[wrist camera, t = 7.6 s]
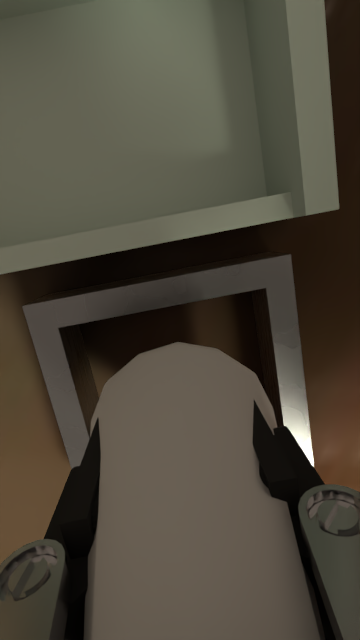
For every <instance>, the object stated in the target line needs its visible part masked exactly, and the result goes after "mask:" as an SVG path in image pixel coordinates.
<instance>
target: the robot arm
mask: <svg viewBox="0 0 360 640" xmlns="http://www.w3.org/2000/svg"><path fill="white" fill-rule="evenodd" d="M273 431H274V434H273V433H272V431H271V429H270V427H269V425H268V424H267V422H266V420H265V418H264V416H263V415H262V413H261V411H260V409H259V407H258V406H257V404H256V402H255V400H254V408H253V446H254V449H255V452H256V455H257V458H258V460H259V475H260V478H261V480H262V482H263V483H264V485H265V486H266V487H267V488H268V489H269V492H270V494H271V497H273V498H276V499H279V500H282V501H285V502H287V505H288V509H289V513H290V517H291V521H292V525H293V529H294V533H295V537H296V541H297V546H298V550H299V554H300V558H301V562H302V564H303V567H304V569H305V571H306V573H307V575H308V577H309V579H310V582H311V584H312V586H313V588H314V592H315V596H316V600H317V605H318V609H319V614H320V618H321V623H322V627H323V631H324V636H325V640H360V492H358V491H356V490H353V489H351V488H349V487H345V486H340V485H325V484H324V482H323V481H322V479H321V478H320V476H319V475H318V473H317V472H316V470H315V468H314V467H313V465H312V464H311V462H310V461H309V459H308V458H307V456H306V455H305V453H304V452H303V450H302V448H301V447H300V445H299V444H298V442H297V441H296V439H295V438H294V436H293V435H292V433H291V432H290V430H289V429H288V427H287V426H282V427H277V428H274V429H273ZM100 463H101V449H100V433H99V418H97V420H96V423H95V426H94V429H93V431H92V434H91V437H90V439H89V442H88V445H87V448H86V450H85V453H84V456H83V459H82V461H81V464H80V466H76V467H74V468H72V470H71V472H70V474H69V477H68V479H67V482H66V484H65V487H64V489H63V492H62V494H61V497H60V499H59V502H58V504H57V507H56V509H55V512H54V514H53V517H52V519H51V522H50V524H49V527H48V529H47V532H46V534H45V537H44V539H43V540H37V541H34V542H31V543H29V544H26V545H24V546H23V547H21V548H19V549H18V550H16V551H15V552H13V553H12V554H11V555H10V556H9V557H8V558H6V559H5V560H4V561H3V562H2V564H1V565H0V640H84V613H85V596H86V592H87V589H88V555H89V552H90V550H91V547H92V545H93V542H94V534H95V532H96V529H97V520H98V507H99V479H100Z"/></svg>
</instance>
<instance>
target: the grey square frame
mask: <svg viewBox="0 0 360 640" xmlns="http://www.w3.org/2000/svg"><path fill="white" fill-rule="evenodd" d="M247 291H251V294H252V302H253V309H254V316H255V323H256V330H257V337H258V345H259V352H260V359H261V366H262V373H263V380H264V387H265V393H266V395H267V397H268V399H269V401H270V403H271V405H272V407H273V410H274V415H275V419H276V424H277V427H282V426H287V427H288V429H289V430H290V432H291V433H292V435H293V436H294V438H295V439H296V441H297V442H298V444H299V445H300V447H301V448H302V450H303V452H304V453H305V455H306V456H307V458H308V459H309V461H310V462H311V464H312V465H313V467H314V462H313V453H312V443H311V434H310V425H309V416H308V407H307V398H306V388H305V379H304V370H303V361H302V352H301V342H300V333H299V324H298V315H297V306H296V296H295V287H294V278H293V269H292V260H291V254H286V253H278V252H271V251H269V252H264V253H259V254H254V255H248V256H243V257H238V258H233V259H228V260H223V261H217V262H212V263H207V264H202V265H197V266H192V267H186V268H181V269H176V270H171V271H166V272H161V273H155V274H150V275H145V276H140V277H135V278H129V279H124V280H119V281H114V282H109V283H104V284H98V285H93V286H88V287H83V288H78V289H73V290H67V291H62V292H57V293H52V294H47V295H44V296H42V297H40V298H38V299H36V300H34V301H32V302H30V303H28V304H25V305H23V306H22V308H23V311H24V314H25V317H26V321H27V324H28V327H29V331H30V334H31V337H32V340H33V344H34V347H35V350H36V354H37V357H38V360H39V363H40V367H41V370H42V373H43V377H44V380H45V383H46V386H47V390H48V393H49V396H50V399H51V403H52V406H53V409H54V413H55V416H56V419H57V422H58V426H59V429H60V432H61V436H62V439H63V442H64V445H65V449H66V452H67V455H68V459H69V462H70V465H71V468H74V467H76V466H80V464H81V461H82V459H83V456H84V453H85V450H86V448H87V445H88V442H89V439H90V430H91V420H92V417H93V414H94V411H95V409H96V406H97V403H98V401H99V397H98V394H97V390H96V386H95V382H94V379H93V375H92V371H91V367H90V364H89V360H88V356H87V352H86V349H85V345H84V341H83V337H82V334H81V330H80V326H79V324H81V323H86V322H92V321H97V320H102V319H107V318H112V317H117V316H123V315H128V314H133V313H138V312H143V311H149V310H154V309H159V308H164V307H169V306H174V305H180V304H185V303H190V302H195V301H200V300H206V299H211V298H216V297H221V296H226V295H232V294H237V293H242V292H247Z"/></svg>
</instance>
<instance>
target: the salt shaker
mask: <svg viewBox="0 0 360 640" xmlns="http://www.w3.org/2000/svg"><path fill="white" fill-rule="evenodd" d="M254 400H255V402H256V404H257V406H258V407H259V409H260V411H261V413H262V415H263V416H264V418H265V420H266V422H267V424H268V425H269V427H270V429H271V431H272V433H273V434H274V431H273V429H274V428H277V424H276V419H275V415H274V410H273V407H272V405H271V403H270V401H269V399H268V397H267V395H266V393H265V391H264V389H263V387H262V385H261V383H260V381H259V379H258V377H257V375H256V373H254V372H253V371H251V370H250V369H248V368H247V367H245V366H244V365H242V364H241V363H239V362H238V361H236V360H234V359H233V358H231V357H230V356H228V355H227V354H225V353H223V352H222V351H220V350H219V349H217V348H211V347H206V346H200V345H194V344H188V343H182V342H175V343H172V344H169V345H166V346H163V347H159V348H156V349H153V350H150V351H147V352H143V353H140V354H138V355H137V356H136V357H135V358H134V359H132V360H131V361H130V362H129V363H128V364H126V365H125V366H124V367H123V368H122V369H121V370H119V371H118V372H117V373H116V374H115V375H114V376H112V377H111V378H110V379H109V380H108V381H107V382H106V383H105V385H104V387H103V390H102V393H101V395H100V398H99V401H98V403H97V406H96V409H95V411H94V414H93V417H92V420H91V430H90V437H91V434H92V431H93V429H94V426H95V423H96V420H97V418H99V433H100V449H101V463H100V479H99V507H98V520H97V529H96V532H95V534H94V542H93V545H92V547H91V550H90V552H89V555H88V589H87V592H86V596H85V613H84V640H325V636H324V631H323V627H322V623H321V618H320V614H319V609H318V605H317V600H316V596H315V592H314V588H313V586H312V584H311V582H310V579H309V577H308V575H307V573H306V571H305V569H304V567H303V564H302V562H301V558H300V554H299V550H298V546H297V541H296V537H295V533H294V529H293V525H292V521H291V517H290V513H289V509H288V505H287V502H285V501H282V500H279V499H276V498H273V497H271V494H270V492H269V489H268V488H267V487H266V486H265V485H264V483H263V482H262V480H261V478H260V475H259V460H258V458H257V455H256V452H255V449H254V446H253V408H254Z"/></svg>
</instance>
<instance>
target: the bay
mask: <svg viewBox="0 0 360 640" xmlns="http://www.w3.org/2000/svg"><path fill="white" fill-rule="evenodd" d="M338 209H339V197H338V183H337V170H336V156H335V142H334V129H333V115H332V101H331V88H330V74H329V60H328V47H327V33H326V19H325V6H324V0H0V274H5V273H10V272H15V271H21V270H26V269H31V268H36V267H41V266H46V265H52V264H57V263H62V262H67V261H72V260H77V259H82V258H88V257H93V256H98V255H103V254H108V253H113V252H119V251H124V250H129V249H134V248H139V247H144V246H150V245H155V244H160V243H165V242H170V241H175V240H181V239H186V238H191V237H196V236H201V235H206V234H212V233H217V232H222V231H227V230H232V229H237V228H242V227H248V226H253V225H258V224H263V223H268V222H273V221H279V220H284V219H289V218H294V217H300V216H307V215H312V214H317V213H322V212H327V211H332V210H338Z"/></svg>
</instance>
